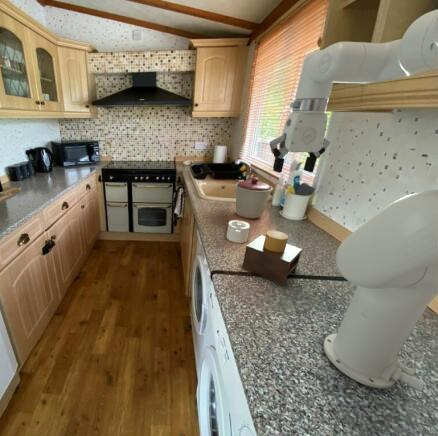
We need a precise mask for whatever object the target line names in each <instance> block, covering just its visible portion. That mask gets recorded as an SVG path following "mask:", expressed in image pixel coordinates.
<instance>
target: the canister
mask: <svg viewBox="0 0 438 436" xmlns="http://www.w3.org/2000/svg"><path fill="white" fill-rule="evenodd" d="M259 180H260V179H259V178H258V177H255V176H254V177H252V178H251V180H241V181H239V182H237V183H236V184H235V187H236V193H235V212H236V214H237V215H238V216H240V217H242V218H245V219H251V220H252V219H259V218H261V217H262V216H263V214H264V212H265V209H266V206H267V204H268V200H269V198H270V194H271V192H272V191H273V189H274V187H272V186H271V185H270V184H268V183H266V182H262V181H259Z"/></svg>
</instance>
